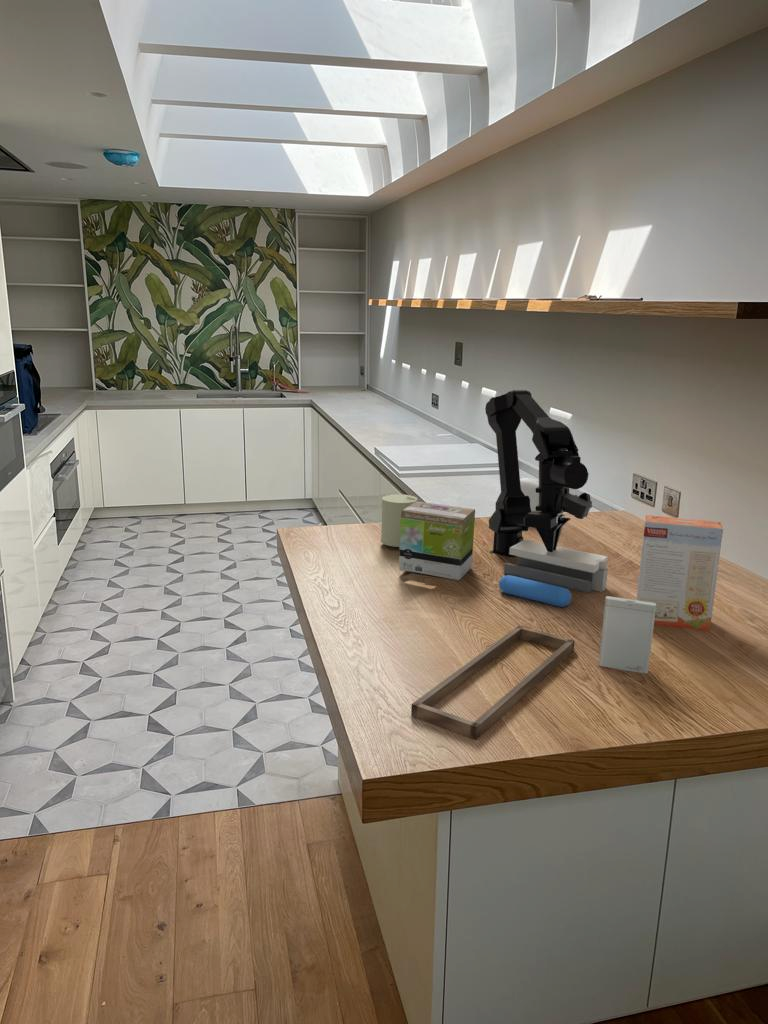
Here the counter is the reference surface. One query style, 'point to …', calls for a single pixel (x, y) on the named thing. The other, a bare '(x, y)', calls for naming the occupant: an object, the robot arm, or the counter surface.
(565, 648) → the frame
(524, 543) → the duct lid
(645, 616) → the hard drive
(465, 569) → the tea box
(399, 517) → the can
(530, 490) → the photo printer
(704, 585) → the cracker box
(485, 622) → the counter surface
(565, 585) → the duct
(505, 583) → the blue pill shape
